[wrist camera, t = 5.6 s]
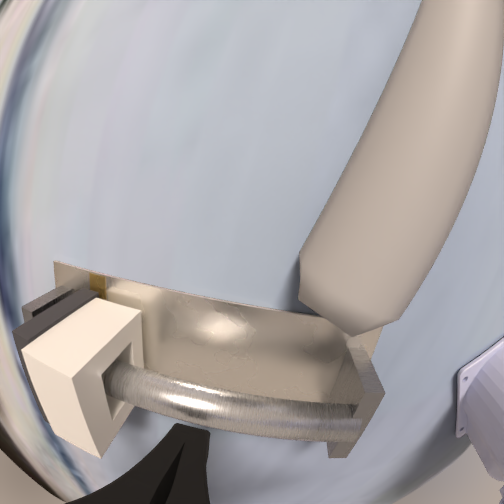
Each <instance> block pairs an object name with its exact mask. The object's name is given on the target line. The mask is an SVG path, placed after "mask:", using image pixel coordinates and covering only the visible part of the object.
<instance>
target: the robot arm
mask: <svg viewBox="0 0 504 504" xmlns="http://www.w3.org/2000/svg"><path fill="white" fill-rule="evenodd" d="M457 384H458V392H457V420H456V433H455V435H456V437H457V438H459V437H461V436H463V435H465V434H467V435H468V437H469V439H470V441H471V442H472V444H473V446H474V448H475V449H476V451H477V453H478V455H479V457H480V459H481V461H482V462H483V464H484V466H485V468H486V470H487V472H488V473H489V475H490V476H491V477H492V478H494V479H496V480H499V481H504V337H503V338H502V339H501V340H500V341H498V342H497V343H496V344H495V345H493V346H492V347H491V348H489V349H488V350H487V351H485V352H484V353H483V354H481V355H480V356H479V357H477V358H476V359H474V360H473V361H471V362H470V363H469V364H467V365H466V366H464V367H463V368H461V369H460V371H459V372H458V375H457ZM209 439H210V432H208V431H207V430H203V429H198V428H194V427H190V426H187V425H183V424H179V423H176V424H174V426H173V427H172V428H171V430H170V431H169V432H168V433H167V435H166V436H165V437H164V438H163V439H162V440H161V441H160V442H159V444H158V445H157V446H156V447H155V448H154V449H153V450H152V451H151V452H150V453H149V454H148V455H147V456H145V457H144V458H143V459H142V460H141V461H140V462H139V463H137V464H136V465H135V466H134V467H133V468H131V469H130V470H129V471H128V472H126V473H125V474H124V475H122V476H121V477H119V478H118V479H116V480H115V481H113V482H112V483H110V484H108V485H106V486H105V487H103V488H101V489H99V490H97V491H95V492H93V493H91V494H89V495H87V496H84V497H82V498H79V499H77V500H74V501H71V502H68V503H65V504H210V501H209V494H208V487H207V475H206V463H207V458H208V451H209ZM500 492H501V495H502V497H503V498H502V499H501V501H500V503H499V504H504V486H503V487H502V488H501V489H500Z"/></svg>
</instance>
